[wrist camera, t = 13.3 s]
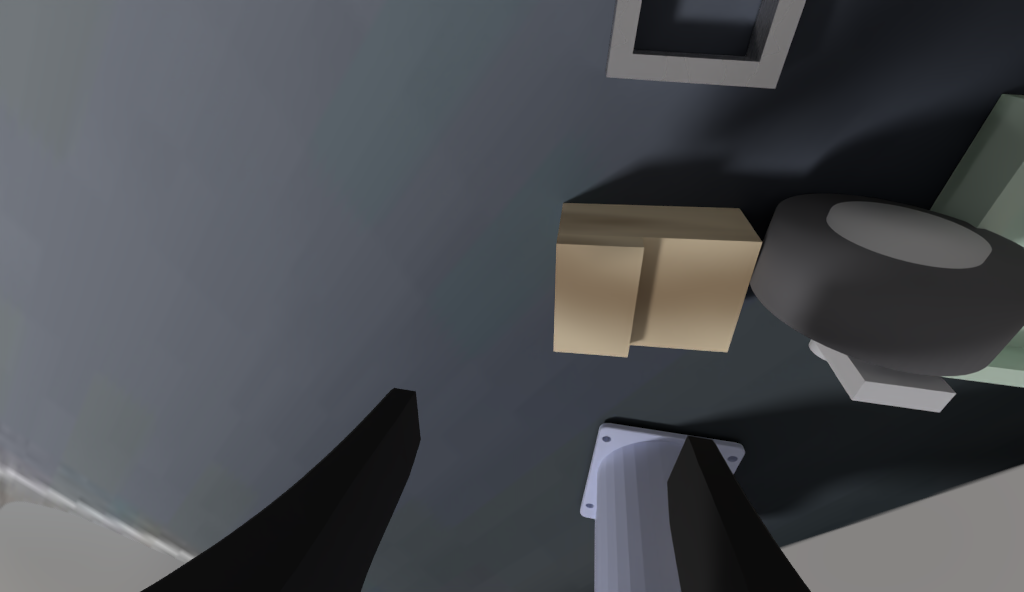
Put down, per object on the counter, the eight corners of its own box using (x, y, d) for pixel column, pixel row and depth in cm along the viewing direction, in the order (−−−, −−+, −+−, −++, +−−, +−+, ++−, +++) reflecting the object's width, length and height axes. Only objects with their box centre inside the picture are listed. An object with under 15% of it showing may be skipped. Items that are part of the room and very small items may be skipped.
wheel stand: (881, 309, 19) (1006, 444, 13) (712, 289, 20) (760, 409, 14) (954, 196, 16) (1154, 306, 10) (753, 177, 17) (834, 270, 11)
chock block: (710, 307, 20) (732, 365, 17) (560, 297, 21) (553, 351, 18) (737, 206, 18) (770, 253, 14) (563, 200, 19) (556, 243, 15)
